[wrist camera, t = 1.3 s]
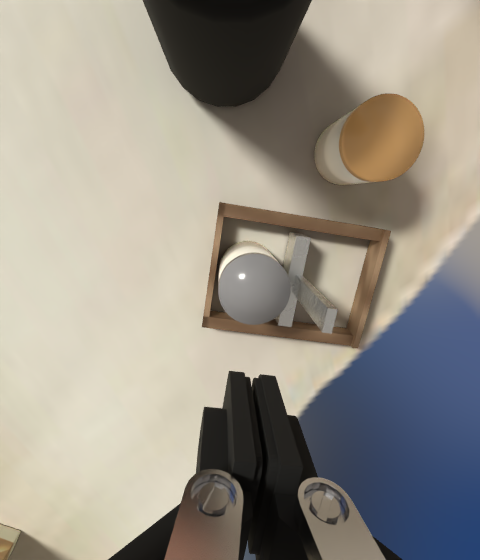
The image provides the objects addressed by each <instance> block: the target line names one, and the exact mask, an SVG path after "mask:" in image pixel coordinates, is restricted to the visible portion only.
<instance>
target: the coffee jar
mask: <svg viewBox="0 0 480 560" xmlns="http://www.w3.org/2000/svg"><path fill="white" fill-rule="evenodd" d="M311 1H312V0H143V2H144V4H145V7H146V9H147V12H148V14H149V17H150V19H151V22H152V24H153V27H154V29H155V32H156V34H157V37H158V39H159V42H160V44H161V47H162V49H163V52H164V54H165V57H166V59H167V62H168V64H169V67H170V69H171V71H172V73H173V74H174V75H175V77H176V78H177V80H178V81H179V82H180V84H181V85H182V87H183V88H184V89H186V90H187V91H188V92H189V93H191V94H192V95H193V96H195V97H196V98H197V99H199V100H200V101H203V102H206V103H209V104H212V105H215V106H238V105H241V104H244V103H246V102H249V101H252V100H254V99H255V98H256V97H258V96H259V95H260V94H261V93H262V92H264V91H265V90H266V89H267V88H268V87H269V86H270V84H271V83H272V81H273V80H274V78H275V77H276V75H277V73H278V72H279V70H280V68H281V66H282V64H283V62H284V60H285V57H286V55H287V53H288V51H289V49H290V46H291V44H292V42H293V40H294V38H295V36H296V33H297V31H298V29H299V27H300V25H301V23H302V20H303V18H304V16H305V14H306V12H307V10H308V7H309V5H310V3H311Z"/></svg>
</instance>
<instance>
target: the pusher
mask: <svg viewBox="0 0 480 560" xmlns="http://www.w3.org/2000/svg"><path fill="white" fill-rule="evenodd" d="M310 240H311V238H310V237H308V236H306V235H304V234H299V233H293V232H290V234H289V239H288V244H287V249H286V254H285V259H284V264H283V268H284V269H285V271H286V273H287V275H288V277H289V280H290V285H291V293H290V298H289V301H288V303H287V305H286V307H285V309H284V310H283V311H282V312H281V313H280V314H279V315H278V316H277V317H276V318H275V320H276V322H277V324H278V325H279V326H287V327H292V322H293V317H294V313H295V308H296V304H297V299H298V301H299V302H300V303H301V305H302V306H303V307H304V309H305V310H306V311H307V313H308V314H309V316H310V317H311V318H312V320H313V321H314V322H315V324H316V325H317V326H318V328H319V329H320V330H321V332H322V333H330V334H332V330H333V326H334V323H335V319H336V315H337V311H338V309H337V308H336V307H335V306H334V305H333V304H332V303H331V302H329V301H328V300H327V299H326V298H325V297H324V296H323V295H322V294H321V293H320V292H319V291H318V290H317V289H316V288H315V287H314V286H313V285H312V284H311V283H310V282H309V281H308V280H307V279H306V278H305V277H304V276H303V272H304V267H305V262H306V258H307V253H308V249H309V244H310Z"/></svg>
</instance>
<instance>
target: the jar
mask: <svg viewBox="0 0 480 560" xmlns="http://www.w3.org/2000/svg"><path fill="white" fill-rule="evenodd" d="M423 141H424V124H423V120H422V117H421V115H420V113H419V111H418V109H417V108H416V106H415V105H414V104H413V103H412V102H411V101H409V100H408V99H407V98H405V97H403V96H400V95H397V94H381V95H378V96H375V97H373V98H370V99H369V100H367V101H366V102H364V103H363V104H361V105H360V106H358V107H357V108H355V109H354V110H352V111H351V112H349V113H348V114H346V115H345V116H343V117H342V118H340V119H339V120H337V121H336V122H334V123H333V124H331V125H330V126H329V127H327V128H326V129H325V130H324V131H323V132H322V134H321V135H320V137H319V138H318V140H317V143H316V146H315V152H314V159H315V164H316V167H317V170H318V171H319V173H320V174H321V176H322V177H323V178H324V179H325V180H327V181H328V182H330V183H333V184H336V185H350V184H360V183H370V182H380V181H387V180H391V179H394V178H396V177H398V176H400V175H402V174H403V173H404V172H406V171H407V170H408V169H409V168H410V167H411V166H412V165H413V163H414V162H415V161H416V159H417V158H418V156H419V154H420V151H421V148H422V145H423Z"/></svg>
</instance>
